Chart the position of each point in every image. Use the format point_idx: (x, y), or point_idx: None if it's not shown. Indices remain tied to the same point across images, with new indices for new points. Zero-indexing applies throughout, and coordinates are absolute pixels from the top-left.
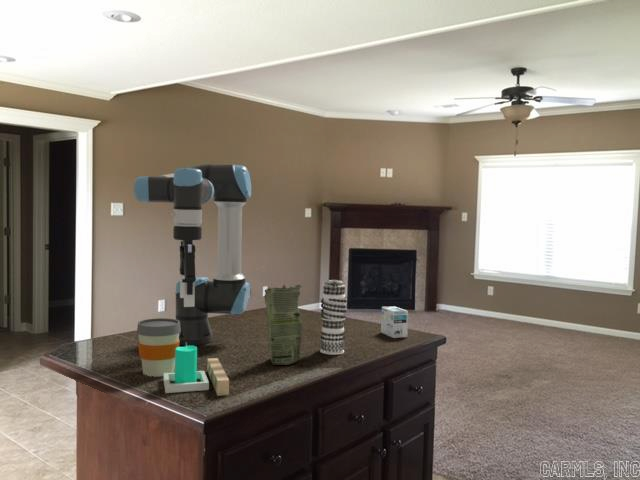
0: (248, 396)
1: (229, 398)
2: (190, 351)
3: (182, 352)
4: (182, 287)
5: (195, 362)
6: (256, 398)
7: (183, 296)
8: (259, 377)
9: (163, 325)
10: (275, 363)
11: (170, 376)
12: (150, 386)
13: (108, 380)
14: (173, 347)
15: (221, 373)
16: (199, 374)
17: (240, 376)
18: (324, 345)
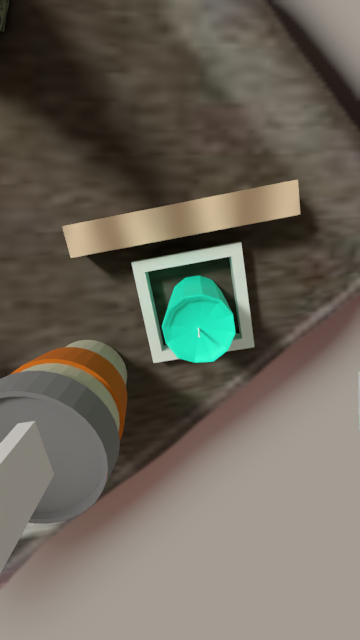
0: (304, 128)
1: (311, 183)
2: (231, 312)
3: (232, 336)
4: (12, 529)
5: (210, 289)
6: (324, 103)
7: (43, 464)
8: (136, 90)
9: (47, 440)
10: (5, 18)
11: (161, 344)
12: (199, 377)
13: (152, 461)
14: (97, 368)
15: (230, 206)
16: (146, 273)
17: (126, 154)
18: None
